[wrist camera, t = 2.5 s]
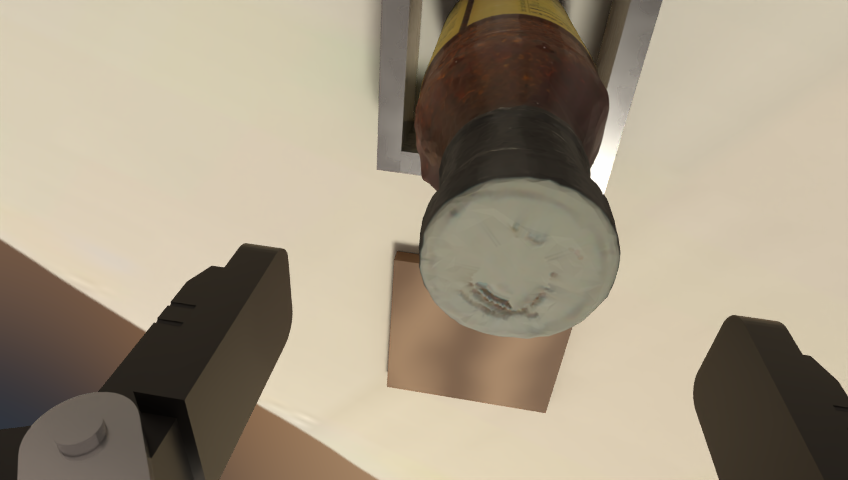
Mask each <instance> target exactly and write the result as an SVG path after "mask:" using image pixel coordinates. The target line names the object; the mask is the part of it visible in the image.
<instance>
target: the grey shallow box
mask: <svg viewBox="0 0 848 480" xmlns="http://www.w3.org/2000/svg"><path fill="white" fill-rule="evenodd" d="M661 3H662V0H612V4H611V8H610V11H609V15H608V19H607V23H606V27H605V31H604V35H603V39H602V43H601V47H600V51H599V55H598V59H597V63H596V68H597V72H598V75H599V78H600V79H601V81H602V83H603V84H604V86H605V88H606V89H607V91H608V95H609V113H608V117H607V122H606V126H605V130H604V135H603V139H602V143H601V146H600V149H599V153H598V155H597V157H596V159H595V161H594V163H593V165H592V167H591V169H590V170H591V179H592V180H593V181H595V182H596V183H597V184H598V186H599V187H600V189H601V191H602V192H603V194H604V193H605V189H606V186H607V183H608V179H609V176H610V173H611V169H612V166H613V163H614V159H615V156H616V153H617V149H618V146H619V143H620V139H621V136H622V133H623V129H624V126H625V123H626V120H627V116H628V113H629V110H630V106H631V103H632V100H633V96H634V93H635V90H636V86H637V83H638V80H639V76H640V73H641V70H642V66H643V63H644V60H645V56H646V53H647V50H648V46H649V43H650V40H651V36H652V33H653V30H654V27H655V23H656V20H657V17H658V13H659V10H660V7H661ZM421 11H422V0H382V18H381V51H380V83H379V115H378V147H377V170H383V171H391V172H398V173H405V174H413V175H420V176H422V175H421V162H420V156H419V153H418V151H417V146H416V131H415V127H414V112H415V97H416V83H417V69H418V54H419V40H420V26H421Z"/></svg>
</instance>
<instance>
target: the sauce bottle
mask: <svg viewBox="0 0 848 480" xmlns="http://www.w3.org/2000/svg"><path fill="white" fill-rule="evenodd" d="M608 113H609V95H608V91H607V89H606V88H605V86H604V84H603V83H602V81H601V79H600V78H599V75H598V72H597V68H596V65H595V63H594V61H593V59H592V57H591V56H590V54H589V52H588V50H587V49H586V47H585V45H584V44H583V42H582V40H581V38H580V37H579V35H578V33H577V31H576V30H575V28H574V26H573V24H572V23H571V21H570V19H569V17H568V15H567V13H566V11H565V10H564V8H563V6H562V5H561V4H560V2H559V1H558V0H460V1H459V2H458V3H457V4H456V5H455V7H454V8H453V9H452V11H451V12H450V14H449V16H448V17H447V19H446V21H445V23H444V26H443V29H442V31H441V34H440V37H439V39H438V42H437V45H436V47H435V50H434V52H433V55H432V57H431V60H430V63H429V65H428V68H427V70H426V73H425V75H424V78H423V81H422V86H421V90H420V95H419V99H418V103H417V105H416V109H415V114H416V115H415V121H414V127H415V131H416V146H417V151H418V153H419V156H420V162H421V175H422V179H423V180H424V181H426V182H427V183H429V184H430V185H431V186H432V187H433V188H434V189H435V190H436V191H437V192H436V193H435V194H434V195H433V197H432V199H431V200H430V202H429V204H428V207H427V209H426V212H425V214H424V217H423V221H422V226H421V232H420V243H419V259H420V260H419V269H420V273H421V276H422V280H423V284H424V286H425V287H426V289H427V290H428V292H429V293H430V295H431V297H432V299H433V301H434V302H435V303H436V304H437V305H438V306H439V307H440V308H441V309H442V310H443V311H444V312H445V313H446V314H447V315H448V316H449V317H450V318H452V319H454V320H456V321H457V322H458V323H459V324H461V325H463V326H466V327H468V328H471V329H474V330H476V331H479V332H482V333H485V334H490V335H495V336H501V337H515V338H525V339H530V338H535V337H543V336H551V335H554V334H556V333H559V332H562V331H565V330H567V329H569V328H571V327H573V326H575V325H576V324H578V323H580V322H582V321H583V320H584V319H585V318H586V317H587V316H588V315H590V314H591V313H592V312H593V311H594V310H595V309H596V308H597V307H598V306H599V305H600V304H601V303H602V302H603V301H604V300H605V299H606V298H607V297H608V294H609V292H610V290H611V288H612V286H613V284H614V281H615V278H616V275H617V271H618V268H619V262H620V246H619V239H618V234H617V231H616V226H615V221H614V218H613V215H612V212H611V209H610V206H609V203H608V201H607V198H606V197H605V195H604V194H603V192H602V191H601V189H600V187H599V186H598V184H597V183H596V182H595V181H593V180H592V179H591V170H590V169H591V167H592V165H593V163H594V161H595V159H596V157H597V155H598V153H599V149H600V146H601V143H602V139H603V135H604V130H605V126H606V122H607V117H608Z"/></svg>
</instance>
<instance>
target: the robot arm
mask: <svg viewBox="0 0 848 480" xmlns="http://www.w3.org/2000/svg"><path fill="white" fill-rule="evenodd" d="M157 319H158V320H157V323H153V324H152V326H151V327H150V328H149V329H148V331H147V332H146V333H145V334H144V336H143V337H142V338H141V339H140V341H139V342H138V343H137V344H136V346H135V347H134V348H133V349H132V351H131V352H130V353H129V354H128V356H127V357H126V358H125V359H124V361H123V362H122V363H121V364H120V366H119V367H118V368H117V369H116V370H115V372H114V373H113V374H112V375H111V377H110V378H109V379H108V380H107V382H106V383H105V384H104V385H103V387H102V388H101V389H100V390H99V391H98V392H95V393H88V394H85V395H80V396H77V397H74V398H71V399H69V400H67V401H65V402H62V403H60V404H58V405H57V406H55V407H54V408H52V409H50V410H49V411H48V412H46V413H45V414H44V415H42V416H41V417H40V418H39V419H38V420H37V421H36V422H35V423H34V424H33V425H32V426H26V427H18V428H9V429H1V430H0V480H219V479H220V477H221V475H222V473H223V471H224V469H225V467H226V465H227V462H228V461H229V459H230V457H231V454H232V453H233V450H234V448H235V446H236V444H237V442H238V440H239V438H240V436H241V434H242V432H243V430H244V428H245V426H246V424H247V422H248V420H249V418H250V416H251V414H252V412H253V410H254V407H255V405H256V403H257V401H258V399H259V397H260V395H261V393H262V391H263V389H264V387H265V385H266V383H267V381H268V379H269V377H270V375H271V373H272V371H273V369H274V367H275V364H276V362H277V360H278V358H279V356H280V354H281V352H282V350H283V348H284V346H285V344H286V342H287V339H288V336H289V333H290V328H291V323H292V299H291V287H290V274H289V262H288V255H287V252H286V250H285V249H282V248H275V247H268V246H261V245H254V244H248V243H245V244H242V245H241V246H240V247H239V249H238V250H237V251H236V253H235V254H234V255H233V257H232V258H231V259H230V261H229V262H228V263H227V265H226V266H225V267H217V266H211V267H209V268H208V269H206V270H204V271H203V272H201V273H200V274H198V275H197V276H195V277H193V278H192V279H190V280H189V281H187V282H186V283H185V285H184V286H183V287H182V288H181V290H180V291H179V292H178V293H177V295H176V296H175V297H174V298H173V300H172V301H171V305H170V306H167V307H166V308H165V310H164V311H163V312H162V313H161V315H160V316H159V317H158V318H157ZM693 399H694V406H695V410H696V413H697V416H698V419H699V422H700V425H701V428H702V431H703V433H704V436H705V439H706V442H707V445H708V448H709V451H710V454H711V457H712V460H713V463H714V466H715V469H716V472H717V475H718V478H719V480H848V396H847V394H846V393H845V391H844V390H843V388H842V387H841V385H840V383H839V382H838V381H837V380H836V379H835V378H834V377H833V376H832V375H831V374H830V373H829V372H827V371H826V370H825V369H824V368H823V367H822V366H821V365H820V364H819V363H818V362H817V361H815V360H814V359H813V358H812V357H811V356H808V355H802V353H801V351H800V350H799V348H798V346H797V345H796V343H795V341H794V340H793V338H792V336H791V335H790V333H789V331H788V330H787V328H786V327H785V326H784V325H783V324H782V323H780V322H778V321H772V320H765V319H758V318H751V317H744V316H737V315H732V316H729V317H728V318H727V319H726V320H725V321H724V323H723V325H722V327H721V328H720V330H719V332H718V334H717V336H716V338H715V340H714V342H713V344H712V346H711V348H710V350H709V352H708V353H707V355H706V357H705V359H704V361H703V363H702V365H701V367H700V369H699V371H698V373H697V375H696V378H695V382H694V390H693Z"/></svg>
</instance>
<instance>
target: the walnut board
mask: <svg viewBox="0 0 848 480" xmlns="http://www.w3.org/2000/svg"><path fill="white" fill-rule="evenodd" d="M419 260H420V259H419V254H414V253H407V252H400V251H397V253H396V256H395V259H394V273H393V291H392V308H391V326H390V343H389V361H388V378H387V387H392V388H398V389H404V390H410V391H416V392H422V393H428V394H434V395H440V396H446V397H452V398H458V399H464V400H470V401H476V402H482V403H488V404H494V405H500V406H506V407H512V408H518V409H524V410H530V411H536V412H542V413H546V410H547V407H548V403H549V400H550V397H551V394H552V391H553V387H554V384H555V381H556V378H557V375H558V371H559V368H560V365H561V362H562V359H563V355H564V352H565V349H566V346H567V343H568V339H569V336H570V333H571V330H572V327H571V328H569V329H567V330H565V331H562V332H559V333H556V334H554V335H551V336H543V337H535V338H530V339H525V338H515V337H501V336H495V335H490V334H485V333H482V332H479V331H476V330H474V329H471V328H468V327H466V326H463V325H461V324H459V323H458V322H457V321H456V320H454V319H452V318H450V317H449V316H448V315H447V314H446V313H445V312H444V311H443V310H442V309H441V308H440V307H439V306H438V305H437V304H436V303H435V302H434V301H433V299H432V297H431V295H430V293H429V292H428V290H427V289H426V287H425V286H424V284H423V280H422V276H421V273H420V269H419Z"/></svg>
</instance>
